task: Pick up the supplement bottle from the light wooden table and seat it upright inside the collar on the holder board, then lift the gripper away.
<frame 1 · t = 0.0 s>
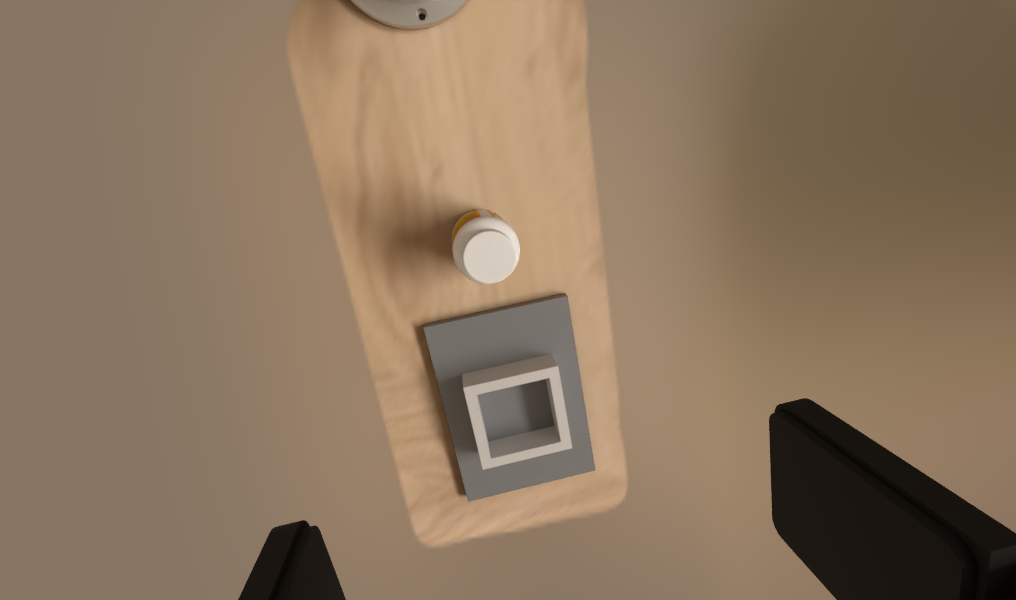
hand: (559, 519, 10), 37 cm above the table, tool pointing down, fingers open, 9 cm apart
supplement bottle: (480, 237, 45), on the table
cup holder: (513, 399, 50), on the table
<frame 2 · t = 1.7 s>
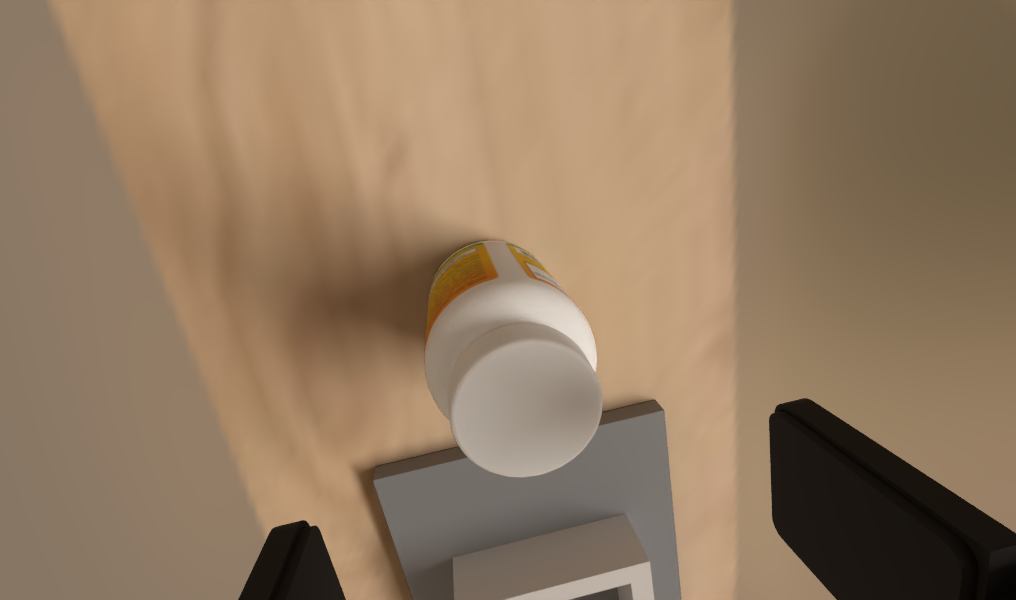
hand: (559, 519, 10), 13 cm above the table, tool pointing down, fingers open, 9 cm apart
supplement bottle: (489, 297, 22), on the table
cup holder: (549, 584, 27), on the table
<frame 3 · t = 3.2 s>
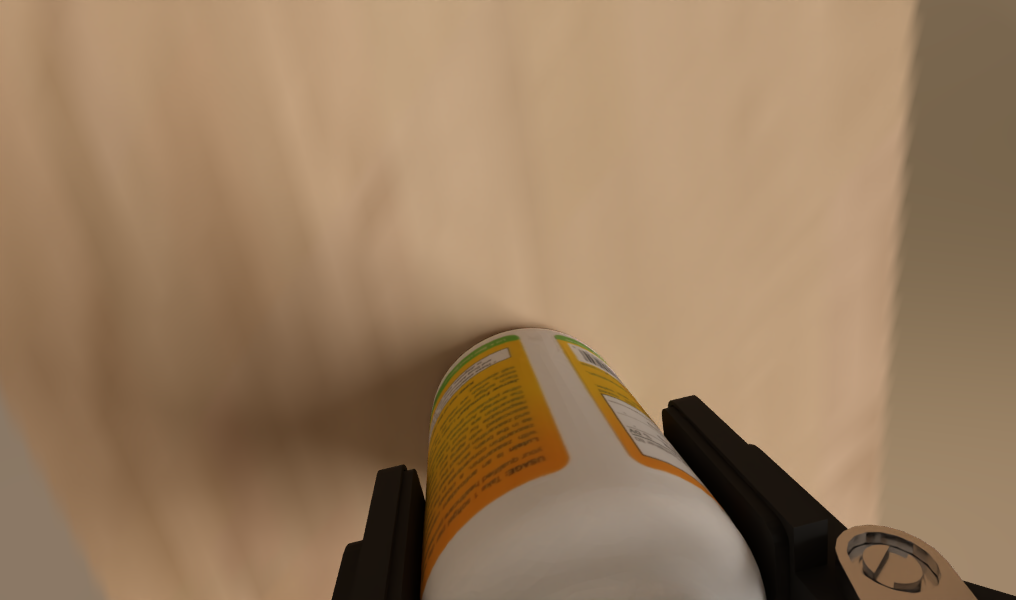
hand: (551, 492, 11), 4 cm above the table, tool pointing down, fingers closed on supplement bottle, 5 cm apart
supplement bottle: (524, 408, 14), on the table, touching gripper
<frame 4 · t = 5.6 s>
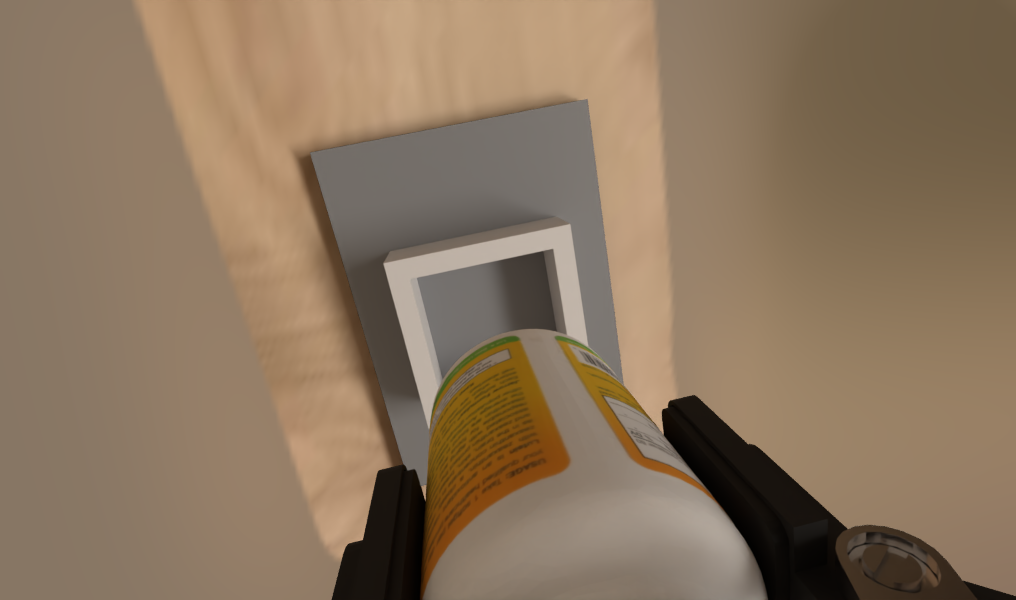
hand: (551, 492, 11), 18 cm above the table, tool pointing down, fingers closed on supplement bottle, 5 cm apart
supplement bottle: (524, 409, 14), point 14 cm above the table, touching gripper
cup holder: (489, 307, 28), on the table
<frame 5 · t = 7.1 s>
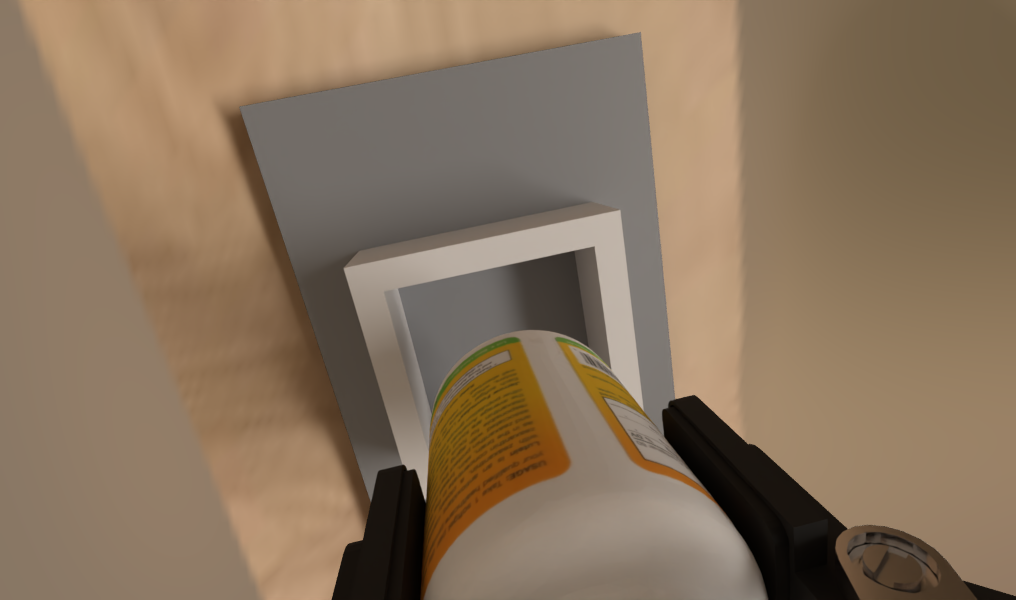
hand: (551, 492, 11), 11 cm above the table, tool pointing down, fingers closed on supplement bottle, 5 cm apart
supplement bottle: (524, 410, 14), point 7 cm above the table, touching gripper
cup holder: (498, 326, 21), on the table
when the fingers open (6 cm above the table, at t = 8.4 s): supplement bottle drops 1 cm, resting on cup holder.
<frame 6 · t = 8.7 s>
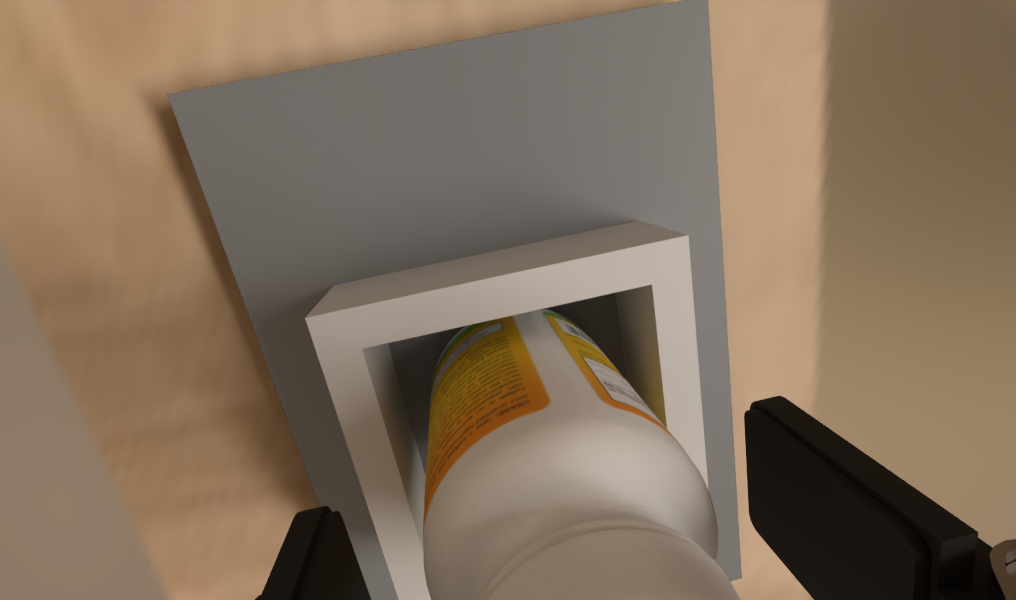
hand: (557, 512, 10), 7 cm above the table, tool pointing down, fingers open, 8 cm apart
supplement bottle: (516, 381, 15), point 1 cm above the table, touching cup holder
cup holder: (513, 376, 16), on the table
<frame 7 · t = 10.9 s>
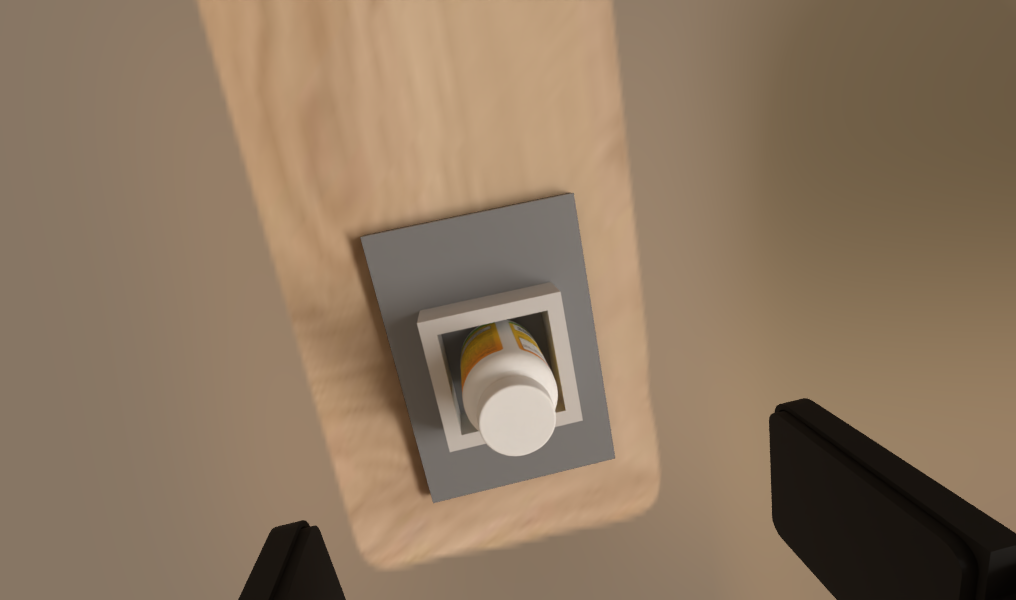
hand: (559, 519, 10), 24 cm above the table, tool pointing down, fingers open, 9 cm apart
supplement bottle: (498, 354, 34), point 1 cm above the table, touching cup holder
cup holder: (497, 352, 35), on the table
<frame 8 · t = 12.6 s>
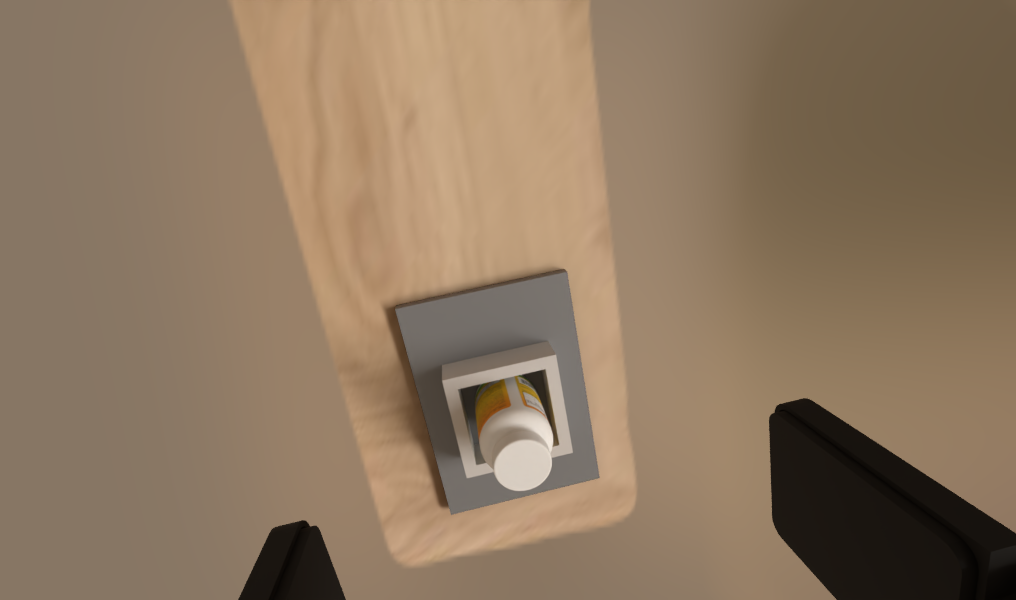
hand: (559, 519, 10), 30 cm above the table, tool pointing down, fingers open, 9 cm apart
supplement bottle: (505, 397, 42), point 1 cm above the table, touching cup holder
cup holder: (504, 395, 42), on the table
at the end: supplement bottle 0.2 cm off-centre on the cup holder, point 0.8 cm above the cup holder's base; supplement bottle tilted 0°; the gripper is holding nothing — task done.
